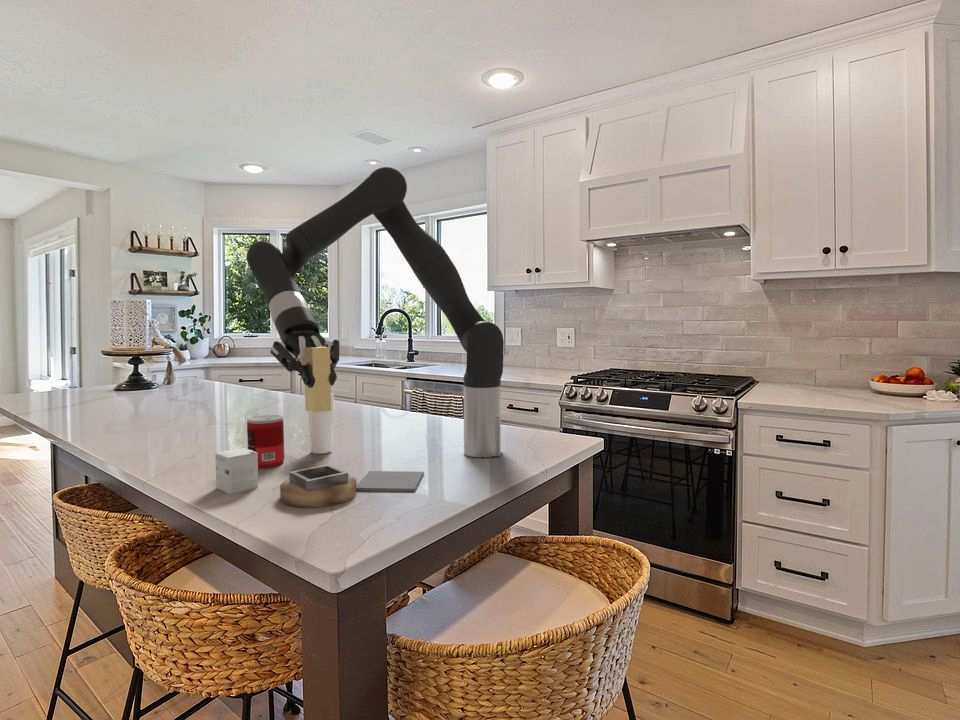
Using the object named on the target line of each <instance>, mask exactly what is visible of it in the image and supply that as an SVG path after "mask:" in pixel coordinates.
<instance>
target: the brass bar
mask: <svg viewBox="0 0 960 720" xmlns="http://www.w3.org/2000/svg"><path fill="white" fill-rule="evenodd" d="M304 352H305V358H306V360H307V366H309V367H310V369H311V372H312V374H313V375H314V378H315V384H314V386H313V387H311V388H308V386H307V385H305V384H304V397H305V398H304V401H305V403H304V407H305V411H306V412H307V411H309V412H313V413H316V412H324V411H331V393H332V391H331V390H332V389H331V387H332V386H331V385H330V347H304Z"/></svg>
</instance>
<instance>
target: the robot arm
mask: <svg viewBox="0 0 960 720" xmlns="http://www.w3.org/2000/svg"><path fill="white" fill-rule="evenodd" d="M407 190H408V184H407V180H406V179H405V176H404V175H403V174H402V173H401V172H400V171H399V170H398V169H395V168H393V167H391V166H390V167H389V166H382V167H379V168H376V169H375V170H373V171H372V172H371V173H370V174H369V175H368V176H367V178H365V180H363V182H361V183H360V184H359V185H358V186H357V187H355V188H354V189H353V190H352V191H350V192H349V193H348V194H347V195H345V196H344V197H343V198H341V199H339V200H338V201H337V202H335V203H334V204H332V205H330V206H329V207H327V208H325V209H324V210H322V211H320V212H319V213H318V214H316V215H313V216H311V218H309V219H308V220H305V221H304V222H302V223H301V224H299V225H298V226H296V227H295V228H293V229H291V230H290V231H288V232H287V233H286V236H285V242H286V248H285V249H284V250H283V252H282V251H281V250H280V248H279V247H278V246H277V245H276V244H275V243H273V242H270V241H267V240H258V241H256V242H254V243H253V244H251V246H249V248H248V250H247V253H246V262H247V264H248V266H249V269H250V271H251V272H252V274H253V277H254V278H255V280H256V281H257V283H258V285H259V286H260V288H261V291H262V295H263V297H264V300H265V302H266V305H267V307H268V309H269V311H270V312H269V314H270V317H271V320H272V323H273V324H274V327H275V329H276V332H277V333H278V336H279V338H280V340H281V342H280V341H278V340H277V341H276V340H275V341H273V344H272V347H271V348H270V354H271V355H272V356H273V357H274V358H275V359H276V360H277V361H278V362H279V363H280V364H281V365H282V366H283V367H284V368H285V369H286V371H288V372H290V373H292V372H297V373H298V374H299V375H300V378H301V380H302V382H303V384H304V386H305V385H307V386H308V388H311V387H313V386H314V384H315V378H314V375H313V374H312V372H311V369H310V367H309V366H307V360H306V358H305V352H304V347H330V385H331V387H332V386H334V384H335V382H336V380H337V378H338V376H337V374H336V371H335V369H336V366H337V365H338V363H339V361H340V341H339V340H338V339H333V340H332V341H330V340H326V339H325V337H324V336H323V335H322V334H321V333H320V328H319V325H318V323H317V321H316V319H315V317H314V314H313V312H312V311H311V310H312V309H311V308H310V307H309V304H308V302H307V301H306V299H305V298H304V297H303V295H302V292H301V291H300V287H299V286H298V284H297V283H296V281H295V280H294V279H293V278H294V277H295V276H296V275H297V273H298V272H299V271H300V270H301V269H302V268H303V267H304V266H305V265H306V263H307V262H308V261H309V260H310V259H311V258H312V257H315V256H316V255H318V254H319V253H321V252H322V251H324V250H325V249H327V248H328V247H330V246H331V245H332V244H334V243H335V242H337V241H338V240H339V239H340V238H342V237H343V236H344V235H345V234H346V233H348V232H349V231H350V230H351V229H353V228H354V227H355V226H356V225H357V224H359V223H360V222H362V221H363V220H365V219H367V218H369V217H370V216H371V215H373V216H374V217H375V219H376V220H377V221H378V222H379V223H380V224H381V226H382V227H383V228H384V229H385V230H386V232H387V233H388V234H389V236H390V237H391V238H392V240H393V241H394V243H395V245H396V246H397V248H398V250H399V252H400V253H401V255H402V257H404V259H405V260H406V262H407V264H408V265H409V267H410V268H411V270H412V272H413V273H414V275H415V276H416V278H417V280H418V281H419V282H420V284H421V286H422V287H423V288H424V289H425V292H427V294H428V295H429V296H430V298H431V299H432V300H433V302H434V303H435V304H436V306H437V307H438V308H439V309H440V310H441V312H442V313H443V315H444V316H445V318H447V320H448V322H449V323H450V325H451V327H452V329H453V331H454V333H455V334H456V337H457V338H458V340H459V342H460V344H461V346H462V348H463V350H464V351H465V353H466V366H465V367H466V368H465V371H464V374H463V454H464V455H465V456H467V457H473V458H482V457H484V458H493V456H494V457H501V450H502V449H501V447H502V446H501V441H502V439H501V434H502V432H501V431H502V430H501V425H502V424H501V385H502V384H501V382H502V381H501V380H502V376H503V372H504V351H505V349H504V344H505V342H504V336H503V333H502V330H501V329H500V327H499V326H498V325H496V324H495V323H494V322H490V321H486V320H485V319H484V318H483V317H482V315H481V314H480V313H479V311H478V310H477V309H476V307H474V305H473V303H472V302H471V300H470V298H469V295H468V294H467V291H466V288H465V286H464V282H463V281H462V278H461V276H460V273H459V270H457V267H456V266H455V264H454V262H453V261H452V259H451V258H450V256H449V255H448V253H447V252H446V250H445V248H443V245H441V244H440V243H439V241H437V239H436V238H434V237H433V236H432V235H431V234H429V233H428V232H427V231H426V230H425V229H423V228H422V227H421V226H420V224H418V222H417V221H416V219H414V217H413V216H412V214H411V212H410V211H409V209H408V207H407V205H406V203H405V201H404V200H405V198H406V195H407Z"/></svg>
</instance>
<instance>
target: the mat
mask: <svg viewBox="0 0 960 720" xmlns="http://www.w3.org/2000/svg"><path fill="white" fill-rule="evenodd" d="M423 474H424V475H425V472H424V471H403V470H402V471H396V470H395V471H392V470H389V471H388V470H387V471H386V470H383V471H382V470H369V471H368V472H366V474H365V475H364V476H363V478H362V479H361V480H360V481H359V482H358V483H356V492H401V491H415V492H416V490H417V488H418V487H419V484H420V483H421V481H420V480H422V479H423V477H422V476H424V475H423ZM421 478H422V479H421ZM419 482H420V483H419ZM416 487H417V488H416Z"/></svg>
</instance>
